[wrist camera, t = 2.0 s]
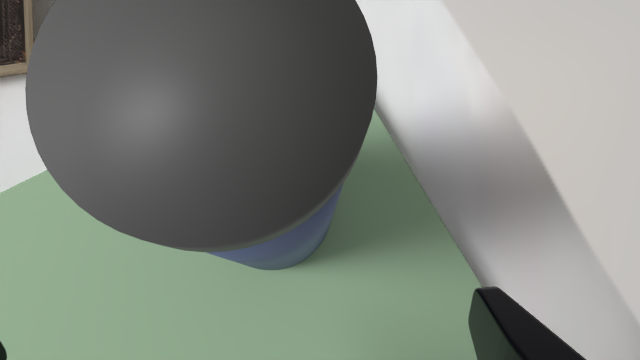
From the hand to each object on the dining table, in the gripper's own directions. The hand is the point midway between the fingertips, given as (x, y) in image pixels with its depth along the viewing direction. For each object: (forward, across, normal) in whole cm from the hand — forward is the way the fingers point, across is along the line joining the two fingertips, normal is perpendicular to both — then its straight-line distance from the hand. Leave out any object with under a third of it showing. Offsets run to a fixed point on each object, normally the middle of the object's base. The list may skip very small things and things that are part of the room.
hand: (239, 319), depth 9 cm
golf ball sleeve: (+10, 0, +5) cm, 11 cm away
